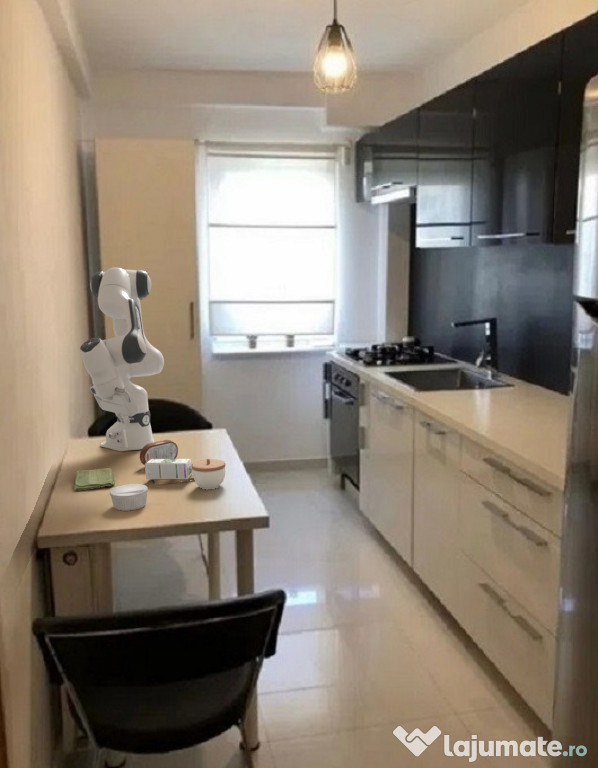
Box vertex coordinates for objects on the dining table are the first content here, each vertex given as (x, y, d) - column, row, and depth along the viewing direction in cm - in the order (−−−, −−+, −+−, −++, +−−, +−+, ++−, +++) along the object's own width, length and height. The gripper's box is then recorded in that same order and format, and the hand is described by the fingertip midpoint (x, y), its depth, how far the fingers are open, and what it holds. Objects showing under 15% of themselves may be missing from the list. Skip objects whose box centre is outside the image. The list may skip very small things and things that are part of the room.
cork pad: (155, 484, 235) (154, 482, 235) (152, 473, 249) (152, 470, 249) (197, 480, 239) (197, 477, 239) (192, 469, 252) (192, 466, 252)
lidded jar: (217, 493, 225) (215, 464, 223) (187, 490, 228) (185, 462, 227) (232, 483, 234) (230, 455, 233) (202, 480, 238) (201, 453, 237)
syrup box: (145, 479, 238) (188, 480, 236) (144, 462, 237) (187, 463, 235) (151, 474, 243) (192, 475, 242) (150, 457, 242) (192, 458, 241)
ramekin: (125, 515, 208) (124, 497, 207) (103, 507, 215) (101, 490, 214) (156, 504, 216) (155, 487, 215) (134, 497, 223) (132, 481, 223)
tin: (175, 459, 266) (173, 437, 265) (180, 460, 264) (178, 438, 262) (140, 468, 256) (138, 445, 254) (144, 470, 254) (143, 446, 252)
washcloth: (74, 493, 231) (73, 484, 230) (75, 478, 248) (74, 469, 247) (115, 488, 234) (115, 479, 234) (114, 474, 251) (113, 465, 251)
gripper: (133, 385, 227) (150, 422, 233) (102, 379, 242) (118, 414, 247) (117, 394, 224) (134, 432, 229) (87, 388, 239) (103, 423, 244)
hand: (126, 422), depth 238 cm, fingers closed
